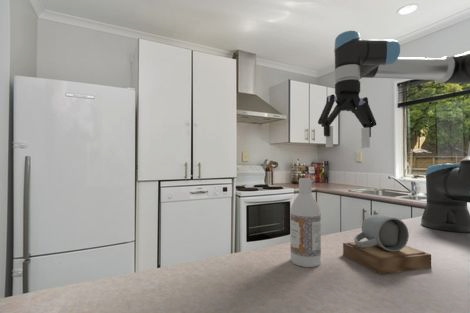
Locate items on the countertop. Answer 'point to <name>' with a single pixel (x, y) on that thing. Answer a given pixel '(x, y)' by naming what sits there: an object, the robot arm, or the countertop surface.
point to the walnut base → (387, 258)
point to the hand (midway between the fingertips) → (347, 147)
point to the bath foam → (305, 227)
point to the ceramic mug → (383, 233)
